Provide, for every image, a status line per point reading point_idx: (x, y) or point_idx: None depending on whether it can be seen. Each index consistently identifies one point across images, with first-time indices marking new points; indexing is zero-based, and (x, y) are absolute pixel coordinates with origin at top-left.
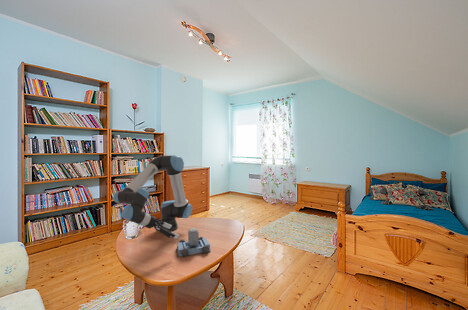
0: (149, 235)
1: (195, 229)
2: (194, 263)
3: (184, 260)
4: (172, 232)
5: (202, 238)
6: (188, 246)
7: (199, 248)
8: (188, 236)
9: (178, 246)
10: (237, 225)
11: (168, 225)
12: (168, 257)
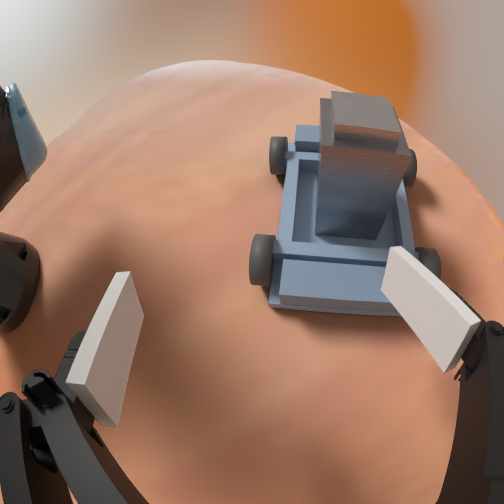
0: (24, 398)
1: (370, 100)
2: (480, 251)
3: None
4: (467, 308)
5: (297, 139)
6: (324, 234)
7: (402, 185)
8: (336, 185)
9: (353, 298)
10: (187, 65)
11: (121, 320)
12: (389, 384)
